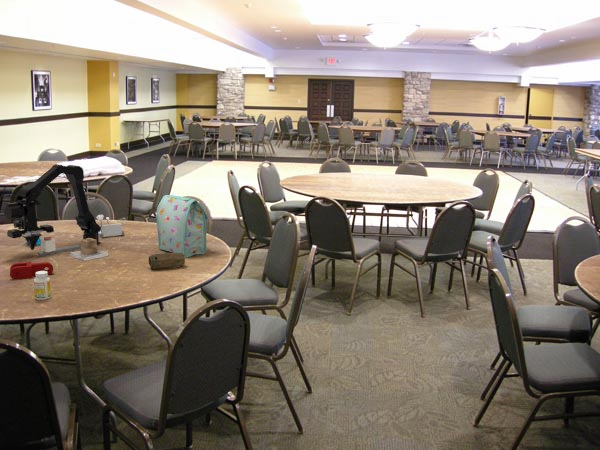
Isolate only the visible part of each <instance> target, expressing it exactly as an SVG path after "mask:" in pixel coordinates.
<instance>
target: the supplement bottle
mask: <svg viewBox="0 0 600 450" xmlns="http://www.w3.org/2000/svg"><path fill="white" fill-rule="evenodd" d="M35 274H36V276H35V278H34V279H33V288H34V289H33V290H34V298H35V300H37V301H45V300H49V299H50V298H51V297H52V290H51V278H50V277H48V276H49V275H48V272H47V271H38V272H36V273H35Z"/></svg>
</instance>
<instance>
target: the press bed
mask: <svg viewBox="0 0 600 450" xmlns="http://www.w3.org/2000/svg"><path fill="white" fill-rule="evenodd" d="M69 255H70V257H72V258H74V259H75V258H76V259H78V260H81V261H83V262H84V261H85V262H86V261H91V260H94V259H100V258H105V257H108V256H109V252H107V251H104V250H101V249H98V248H97V253H93V254H88V255H87V254H84V253H81V250H77V251H70V252H69Z"/></svg>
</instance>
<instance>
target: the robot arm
mask: <svg viewBox="0 0 600 450" xmlns="http://www.w3.org/2000/svg"><path fill="white" fill-rule="evenodd" d="M61 174H62V175H63V174H64V175H65V177H66V179H67V181H68V182H69V183H70V184H71V187H72V191H73V194H74V198H75V199H74V200H75V202H76V206H77V210H78V211H77V212H78V214H77V215H76V216H75V217H74V218H75V220H76V225H78V227H79V228H80V230H81V231H82V233H83V234H82V239H86V238H92V239H95V240H97V245H98V244H101V242H100V240H99V239H100V238H99V236H100V235H99V234H98V232H100V230H101V225H99V224H98V223H97V221H96V217H95V216H94V215H93V213H92V212H91V210H90V209H89V203H88V200H87V196H86V191H85V188H84V183H83V182H84V180H85V172H84V169H83V167H82V166H81V165H72V164H68V165H62V164H56V163H55V164H53V165H52V166H51V168H49V169H48V170H47V171H46V172H45V173H43V174H42V175H41V176H39V177H38V178H37V179H36V180H35V181H33V182H31V183H29V184H26V185H25V186H23V187H21V188H20V189H19V190H18V194H17V195H16V198H15V200H14V201H13V202H11V203H10V202H7V203H6V204H5V205H6V206H5V207H4V209H3V214H4V217H5V218H6V219H7V220H13V219H17V220H13V222H12V223H13V224H12V225H13V228H14V229H13V228H12V229H8V231H7V232H6V236H7V238H11V239H18V238H24V239H25V241H26V243H27V242H28V245H27V246H29V249H30V250H31V251H34V250H35V248H36V246H37V245H36V243H37V241H38V239H39V238H41V237H42V236H43V235H42V233H41V232H46V233H47V234H48V233H54V232H55V228H54V226H53V225H50V224H49V223H46V224H40V226H38V221H39V218H38V213H37V206H39V205H41V202H40V201H38V198H40V195H41V194H42V191H43V190H44V189H45V188H46V187H47V186H48V185H50V183H52V182H53V181H54V180H56V179H57V178H58V177H59V176H60V175H61ZM19 218H21V221H19ZM27 231H29V232H27Z"/></svg>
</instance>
